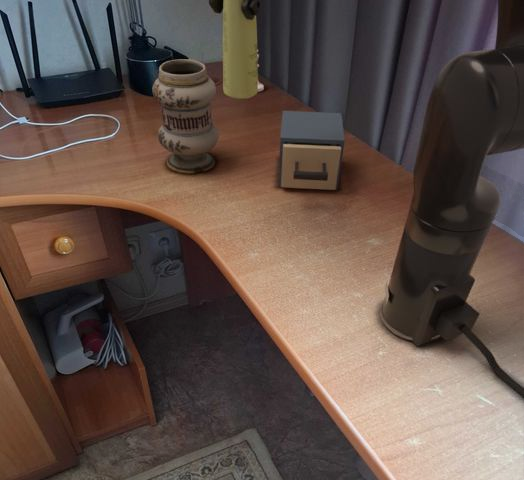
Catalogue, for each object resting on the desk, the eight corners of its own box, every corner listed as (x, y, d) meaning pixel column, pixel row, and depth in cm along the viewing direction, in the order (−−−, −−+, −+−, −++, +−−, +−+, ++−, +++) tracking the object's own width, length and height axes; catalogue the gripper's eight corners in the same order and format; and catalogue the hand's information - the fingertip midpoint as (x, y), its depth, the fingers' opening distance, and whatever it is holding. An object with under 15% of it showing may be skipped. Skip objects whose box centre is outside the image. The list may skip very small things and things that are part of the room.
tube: (267, 96, 66) (271, -93, 52) (236, 104, 64) (231, -91, 50) (246, 84, 69) (244, -98, 55) (216, 90, 68) (206, -96, 53)
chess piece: (257, 93, 126) (257, 50, 118) (242, 89, 127) (241, 47, 120) (267, 88, 129) (268, 45, 121) (252, 84, 130) (252, 42, 123)
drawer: (336, 204, 86) (342, 162, 80) (279, 201, 86) (281, 159, 80) (333, 162, 97) (338, 123, 91) (283, 159, 98) (285, 121, 92)
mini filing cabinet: (337, 190, 91) (344, 140, 84) (278, 187, 92) (280, 137, 84) (335, 160, 100) (341, 113, 93) (280, 157, 100) (282, 110, 93)
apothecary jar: (177, 182, 92) (165, 81, 79) (152, 158, 99) (137, 61, 86) (230, 167, 97) (227, 70, 84) (203, 145, 104) (196, 52, 90)
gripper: (224, -164, 55) (169, -19, 58) (331, -162, 50) (266, -2, 52) (250, -104, 62) (200, 23, 64) (346, -97, 57) (288, 42, 59)
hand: (230, 11), depth 58 cm, fingers closed on tube, 4 cm apart
